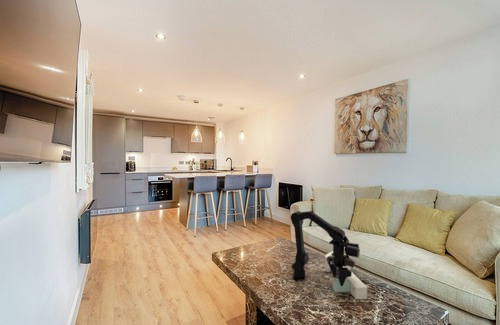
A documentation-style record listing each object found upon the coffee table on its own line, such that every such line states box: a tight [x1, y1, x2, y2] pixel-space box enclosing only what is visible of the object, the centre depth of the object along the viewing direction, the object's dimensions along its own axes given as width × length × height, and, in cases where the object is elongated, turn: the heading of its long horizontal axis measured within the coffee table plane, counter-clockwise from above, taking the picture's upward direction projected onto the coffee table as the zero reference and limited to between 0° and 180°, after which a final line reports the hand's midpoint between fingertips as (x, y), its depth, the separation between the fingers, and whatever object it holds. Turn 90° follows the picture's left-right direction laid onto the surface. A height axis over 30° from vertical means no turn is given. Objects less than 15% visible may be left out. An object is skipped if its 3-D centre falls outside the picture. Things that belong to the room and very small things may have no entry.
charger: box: [331, 278, 350, 293], centre depth 125 cm, size 10×4×5 cm, turn 92°
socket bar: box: [346, 272, 368, 300], centre depth 125 cm, size 6×16×6 cm, turn 2°
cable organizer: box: [324, 250, 352, 273], centre depth 146 cm, size 15×11×12 cm
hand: (338, 281), depth 125 cm, fingers open, 9 cm apart
